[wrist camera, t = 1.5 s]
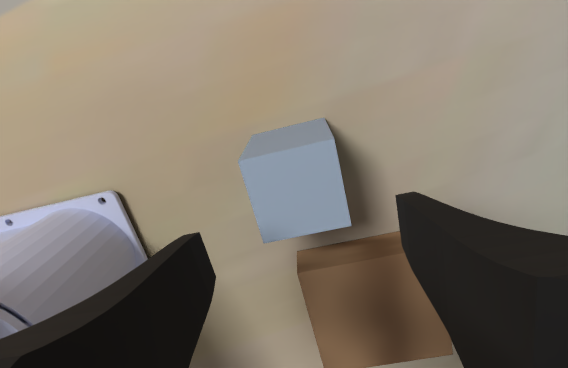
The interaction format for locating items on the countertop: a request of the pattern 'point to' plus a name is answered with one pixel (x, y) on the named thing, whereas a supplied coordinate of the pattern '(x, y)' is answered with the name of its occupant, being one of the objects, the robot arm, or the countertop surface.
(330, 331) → the base
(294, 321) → the countertop surface
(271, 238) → the block
